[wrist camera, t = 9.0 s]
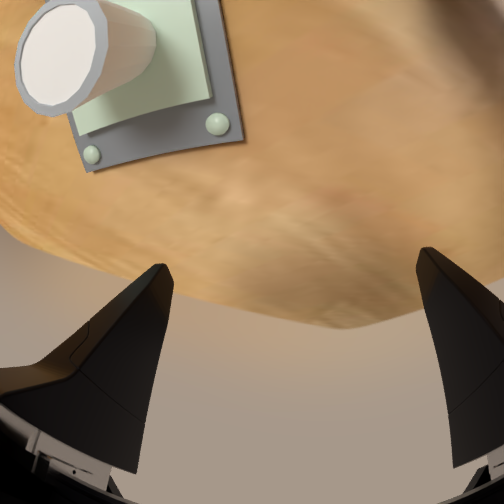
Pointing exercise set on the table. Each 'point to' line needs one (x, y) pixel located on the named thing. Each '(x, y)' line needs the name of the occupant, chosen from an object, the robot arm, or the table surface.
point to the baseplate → (166, 91)
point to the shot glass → (80, 53)
